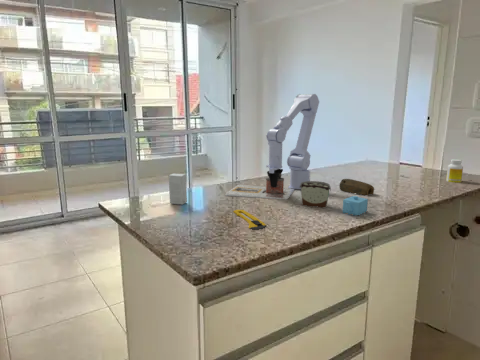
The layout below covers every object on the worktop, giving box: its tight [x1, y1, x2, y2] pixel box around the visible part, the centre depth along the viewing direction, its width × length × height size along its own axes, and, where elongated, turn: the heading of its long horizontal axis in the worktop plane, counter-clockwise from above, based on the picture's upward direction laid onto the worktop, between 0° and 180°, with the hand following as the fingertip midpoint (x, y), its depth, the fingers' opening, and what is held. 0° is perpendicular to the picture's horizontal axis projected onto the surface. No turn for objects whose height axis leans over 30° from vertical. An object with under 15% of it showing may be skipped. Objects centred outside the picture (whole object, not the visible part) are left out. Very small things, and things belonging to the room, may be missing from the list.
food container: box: [299, 180, 332, 208], centre depth 146 cm, size 12×6×10 cm, turn 65°
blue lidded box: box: [342, 195, 369, 216], centre depth 135 cm, size 12×6×8 cm, turn 136°
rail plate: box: [224, 184, 296, 200], centre depth 168 cm, size 28×18×1 cm, turn 72°
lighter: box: [265, 173, 285, 195], centre depth 165 cm, size 8×3×10 cm, turn 84°
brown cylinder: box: [338, 178, 375, 196], centre depth 165 cm, size 15×7×7 cm, turn 44°
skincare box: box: [168, 173, 188, 206], centre depth 151 cm, size 6×4×12 cm
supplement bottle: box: [445, 158, 464, 183], centre depth 183 cm, size 7×7×13 cm
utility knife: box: [232, 209, 267, 231], centre depth 130 cm, size 7×22×2 cm, turn 24°
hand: (274, 186), depth 165 cm, fingers closed on lighter, 4 cm apart
